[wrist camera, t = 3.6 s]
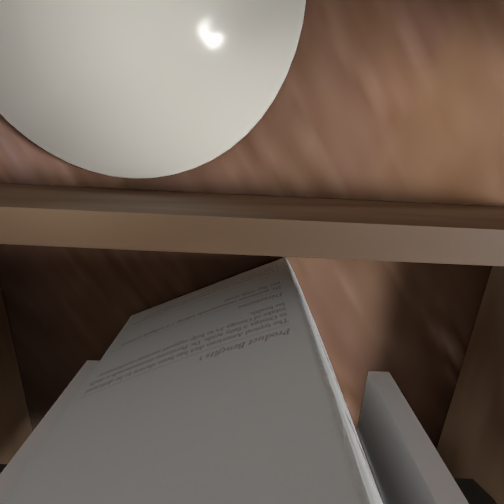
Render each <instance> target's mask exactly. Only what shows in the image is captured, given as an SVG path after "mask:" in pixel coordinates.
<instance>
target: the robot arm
mask: <svg viewBox="0 0 504 504" xmlns="http://www.w3.org/2000/svg"><path fill="white" fill-rule="evenodd" d="M98 363H99V361H96V360H87V361H86V363H85V364H84V365H83V366H82V368H81V369H80V370H79V372H78V373H77V374H76V376H75V377H74V378H73V380H72V381H71V382H70V383H69V385H68V386H67V387H66V389H65V390H64V391H63V393H62V394H61V395H60V397H59V398H58V399H57V400H56V402H55V403H54V404H53V406H52V407H51V408H50V410H49V411H48V412H47V413H46V415H45V416H44V417H43V419H42V420H41V421H40V423H39V424H38V425H37V427H36V428H35V429H34V430H33V432H32V433H31V434H30V436H29V437H28V438H27V440H26V441H25V442H24V444H23V445H22V446H21V447H20V449H19V450H18V451H17V453H16V454H15V455H14V457H13V458H12V459H11V461H10V462H9V463H8V464H0V504H1V502H2V501H3V500H4V498H5V497H6V495H7V494H8V492H9V491H10V489H11V488H12V487H13V485H14V484H15V482H16V481H17V479H18V478H19V476H20V475H21V474H22V472H23V471H24V469H25V468H26V466H27V465H28V463H29V462H30V461H31V459H32V458H33V456H34V455H35V453H36V452H37V450H38V449H39V447H40V446H41V444H42V443H43V442H44V440H45V439H46V437H47V436H48V435H49V433H50V432H51V430H52V429H53V428H54V426H55V425H56V423H57V422H58V420H59V419H60V418H61V416H62V415H63V413H64V412H65V410H66V409H67V407H68V406H69V404H70V403H71V402H72V400H73V399H74V397H75V396H76V394H77V393H78V392H79V390H80V389H81V387H82V386H83V384H84V383H85V382H86V380H87V379H88V377H89V376H90V374H91V373H92V371H93V370H94V368H95V367H96V366H97V364H98ZM357 431H358V434H359V436H360V439H361V442H362V445H363V447H364V450H365V453H366V455H367V458H368V461H369V463H370V466H371V469H372V472H373V474H374V477H375V480H376V482H377V485H378V488H379V491H380V493H381V496H382V499H383V501H384V504H497V503H496V502H495V500H494V499H493V498H492V497H491V496H490V495H489V494H488V493H487V492H486V491H485V490H484V489H483V488H482V487H481V486H480V485H479V484H478V483H477V482H475V481H474V480H473V479H465V478H453V477H452V475H451V473H450V472H449V470H448V468H447V467H446V465H445V463H444V462H443V460H442V458H441V457H440V455H439V453H438V452H437V450H436V448H435V447H434V445H433V444H432V442H431V440H430V439H429V437H428V435H427V434H426V432H425V430H424V429H423V427H422V425H421V424H420V422H419V420H418V419H417V417H416V415H415V414H414V412H413V411H412V409H411V407H410V406H409V404H408V402H407V401H406V399H405V397H404V396H403V394H402V392H401V391H400V389H399V387H398V386H397V384H396V382H395V381H394V379H393V377H392V376H391V374H390V373H389V372H380V371H368V375H367V380H366V385H365V390H364V395H363V401H362V406H361V411H360V416H359V421H358V426H357Z"/></svg>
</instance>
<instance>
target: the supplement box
mask: <svg viewBox="0 0 504 504" xmlns="http://www.w3.org/2000/svg"><path fill="white" fill-rule="evenodd" d="M1 504H383V502H382V499H381V496H380V494H379V491H378V488H377V486H376V483H375V480H374V478H373V475H372V472H371V469H370V467H369V464H368V461H367V459H366V456H365V453H364V451H363V448H362V445H361V443H360V440H359V437H358V435H357V432H356V429H355V427H354V424H353V421H352V418H351V415H350V413H349V410H348V407H347V404H346V402H345V399H344V396H343V394H342V391H341V389H340V386H339V383H338V381H337V378H336V375H335V373H334V370H333V367H332V365H331V362H330V360H329V357H328V355H327V352H326V350H325V347H324V344H323V342H322V339H321V337H320V334H319V332H318V329H317V327H316V324H315V322H314V319H313V317H312V315H311V312H310V310H309V307H308V305H307V302H306V300H305V298H304V295H303V293H302V290H301V288H300V286H299V283H298V281H297V278H296V276H295V274H294V271H293V269H292V267H291V265H290V263H289V262H288V260H287V258H281V259H279V260H276V261H274V262H271V263H268V264H265V265H263V266H260V267H257V268H254V269H252V270H249V271H246V272H244V273H241V274H238V275H236V276H233V277H231V278H228V279H225V280H223V281H220V282H217V283H215V284H212V285H210V286H207V287H204V288H202V289H199V290H197V291H194V292H191V293H189V294H186V295H184V296H181V297H178V298H176V299H173V300H170V301H168V302H165V303H163V304H160V305H158V306H155V307H152V308H150V309H147V310H145V311H142V312H139V313H137V314H134V315H131V316H130V317H129V319H128V321H127V322H126V324H125V325H124V327H123V328H122V330H121V331H120V333H119V334H118V336H117V337H116V338H115V340H114V341H113V342H112V344H111V345H110V347H109V348H108V349H107V351H106V352H105V354H104V355H103V357H102V359H101V360H100V361H99V363H98V364H97V366H96V367H95V368H94V370H93V371H92V373H91V374H90V376H89V377H88V379H87V380H86V382H85V383H84V384H83V386H82V387H81V389H80V390H79V392H78V393H77V394H76V396H75V397H74V399H73V400H72V402H71V403H70V404H69V406H68V407H67V409H66V410H65V412H64V413H63V415H62V416H61V418H60V419H59V420H58V422H57V423H56V425H55V426H54V428H53V429H52V430H51V432H50V433H49V435H48V436H47V437H46V439H45V440H44V442H43V443H42V444H41V446H40V447H39V449H38V450H37V452H36V453H35V455H34V456H33V458H32V459H31V461H30V462H29V463H28V465H27V466H26V468H25V469H24V471H23V472H22V474H21V475H20V476H19V478H18V479H17V481H16V482H15V484H14V485H13V487H12V488H11V489H10V491H9V492H8V494H7V495H6V497H5V498H4V500H3V501H2V502H1Z"/></svg>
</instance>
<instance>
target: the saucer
mask: <svg viewBox="0 0 504 504" xmlns="http://www.w3.org/2000/svg"><path fill="white" fill-rule="evenodd" d="M305 5H306V0H0V114H1V115H2V116H3V117H4V118H5V119H6V120H7V121H8V122H9V123H10V124H11V125H12V126H13V127H15V128H16V129H17V130H18V131H19V132H21V133H22V134H23V135H24V136H25V137H27V138H28V139H29V140H31V141H32V142H34V143H35V144H37V145H38V146H40V147H41V148H43V149H44V150H46V151H47V152H49V153H51V154H53V155H55V156H56V157H58V158H60V159H62V160H64V161H66V162H68V163H70V164H73V165H76V166H78V167H81V168H84V169H86V170H89V171H93V172H97V173H101V174H105V175H109V176H116V177H124V178H155V177H162V176H168V175H174V174H177V173H180V172H184V171H187V170H190V169H193V168H196V167H198V166H200V165H202V164H205V163H207V162H209V161H211V160H213V159H215V158H217V157H218V156H220V155H221V154H223V153H224V152H226V151H228V150H229V149H231V148H232V147H233V146H234V145H235V144H237V143H238V142H239V141H240V140H241V139H243V138H244V137H245V136H246V135H247V134H248V133H249V132H250V131H251V130H252V128H253V127H254V126H255V125H256V124H257V123H258V122H259V121H260V120H261V118H262V117H263V115H264V114H265V113H266V111H267V110H268V108H269V107H270V105H271V104H272V102H273V101H274V99H275V97H276V95H277V93H278V91H279V89H280V88H281V86H282V84H283V82H284V80H285V78H286V76H287V73H288V71H289V68H290V65H291V63H292V60H293V58H294V55H295V52H296V49H297V45H298V41H299V37H300V33H301V29H302V25H303V19H304V12H305Z"/></svg>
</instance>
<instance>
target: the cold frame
mask: <svg viewBox="0 0 504 504" xmlns="http://www.w3.org/2000/svg"><path fill="white" fill-rule="evenodd" d="M0 244H11V245H34V246H57V247H79V248H102V249H124V250H147V251H169V252H192V253H214V254H237V255H260V256H282V257H305V258H327V259H350V260H372V261H395V262H418V263H440V264H463V265H485V266H492V269H491V272H490V275H489V279H488V282H487V285H486V288H485V292H484V295H483V298H482V302H481V305H480V308H479V311H478V315H477V318H476V321H475V324H474V328H473V331H472V334H471V338H470V341H469V344H468V347H467V351H466V354H465V357H464V360H463V364H462V367H461V370H460V374H459V377H458V380H457V383H456V387H455V390H454V393H453V396H452V400H451V403H450V406H449V410H448V413H447V416H446V419H445V423H444V426H443V429H442V433H441V436H440V439H439V442H438V446H437V449H436V450H437V452H438V453H439V455H440V457H441V458H442V460H443V462H444V463H445V465H446V467H447V468H448V470H449V472H450V473H451V475H452V477H453V478H465V479H473V480H474V481H475V482H477V483H478V484H479V485H480V486H481V487H482V488H483V489H484V490H485V491H486V492H487V493H488V494H489V495H490V496H491V497H492V498H493V499H494V500H495V502H496V503H497V504H504V207H493V206H472V205H451V204H429V203H408V202H387V201H366V200H345V199H323V198H302V197H281V196H260V195H238V194H217V193H196V192H175V191H154V190H132V189H111V188H90V187H69V186H48V185H26V184H5V183H0ZM32 432H33V430H32V425H31V421H30V416H29V412H28V407H27V403H26V398H25V394H24V389H23V385H22V380H21V376H20V371H19V367H18V362H17V358H16V353H15V349H14V344H13V340H12V335H11V331H10V326H9V322H8V317H7V312H6V308H5V303H4V299H3V294H2V290H1V285H0V464H8V463H9V462H10V461H11V459H12V458H13V457H14V455H15V454H16V453H17V451H18V450H19V449H20V447H21V446H22V445H23V444H24V442H25V441H26V440H27V438H28V437H29V436H30V434H31V433H32ZM366 459H367V461H368V458H366ZM368 464H369V467H370V469H371V466H370V463H369V461H368ZM371 472H372V469H371ZM372 475H373V478H374V480H375V477H374V474H373V472H372ZM375 483H376V486H377V488H378V485H377V482H376V480H375ZM378 491H379V488H378ZM379 494H380V496H381V493H380V491H379ZM381 499H382V496H381ZM382 502H383V504H384V501H383V499H382Z"/></svg>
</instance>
